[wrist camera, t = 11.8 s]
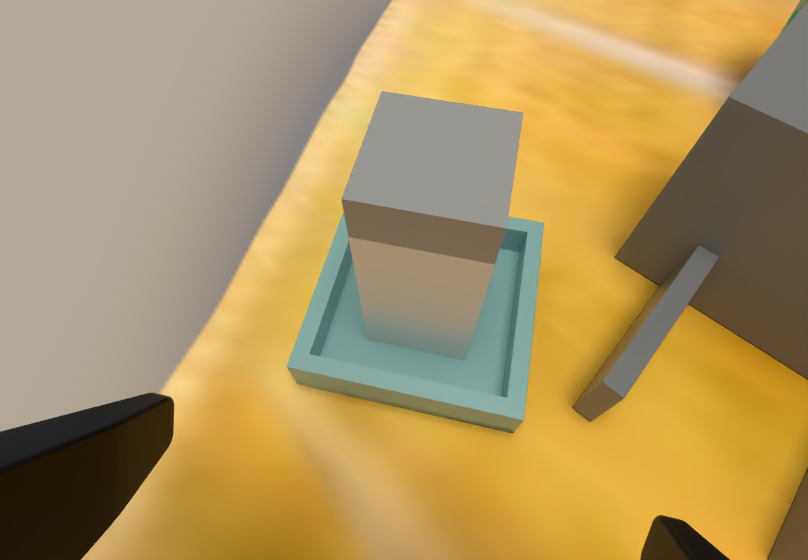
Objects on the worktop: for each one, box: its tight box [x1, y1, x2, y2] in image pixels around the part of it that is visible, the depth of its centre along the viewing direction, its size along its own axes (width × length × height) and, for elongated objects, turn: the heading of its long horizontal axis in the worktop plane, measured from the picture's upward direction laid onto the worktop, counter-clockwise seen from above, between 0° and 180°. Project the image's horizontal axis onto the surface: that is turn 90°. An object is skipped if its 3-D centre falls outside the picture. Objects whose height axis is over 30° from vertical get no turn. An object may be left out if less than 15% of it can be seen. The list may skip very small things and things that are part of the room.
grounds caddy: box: [342, 91, 523, 360], centre depth 20 cm, size 5×5×11 cm
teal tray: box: [287, 212, 544, 433], centre depth 24 cm, size 11×11×2 cm
